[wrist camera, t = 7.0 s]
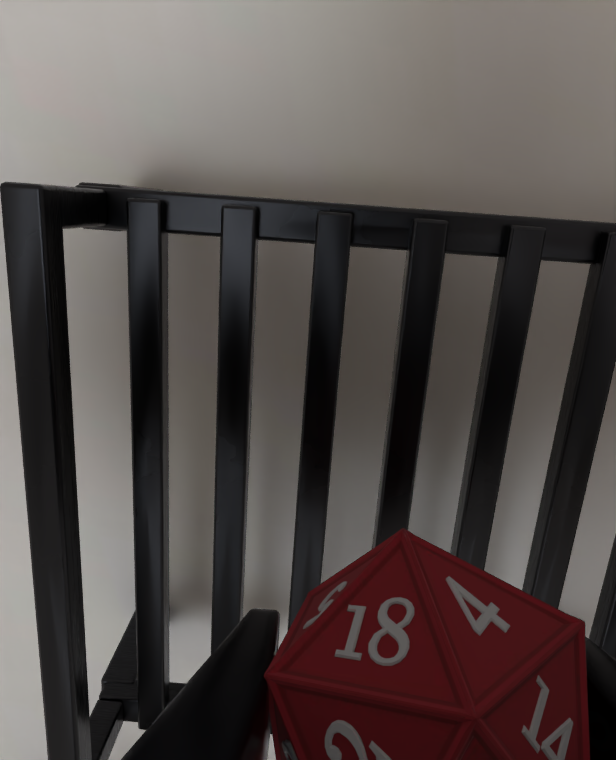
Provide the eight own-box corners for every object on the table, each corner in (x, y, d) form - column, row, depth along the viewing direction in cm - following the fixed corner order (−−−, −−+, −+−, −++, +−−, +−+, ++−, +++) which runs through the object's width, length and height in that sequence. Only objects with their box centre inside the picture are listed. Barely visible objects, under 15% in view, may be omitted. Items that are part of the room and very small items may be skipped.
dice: (587, 618, 9) (775, 919, 5) (352, 736, 10) (365, 1070, 6) (463, 434, 8) (578, 630, 4) (220, 580, 9) (138, 851, 5)
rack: (577, 662, 16) (699, 885, 11) (139, 624, 16) (47, 824, 11) (688, 226, 13) (946, 240, 7) (130, 187, 13) (-12, 172, 7)
